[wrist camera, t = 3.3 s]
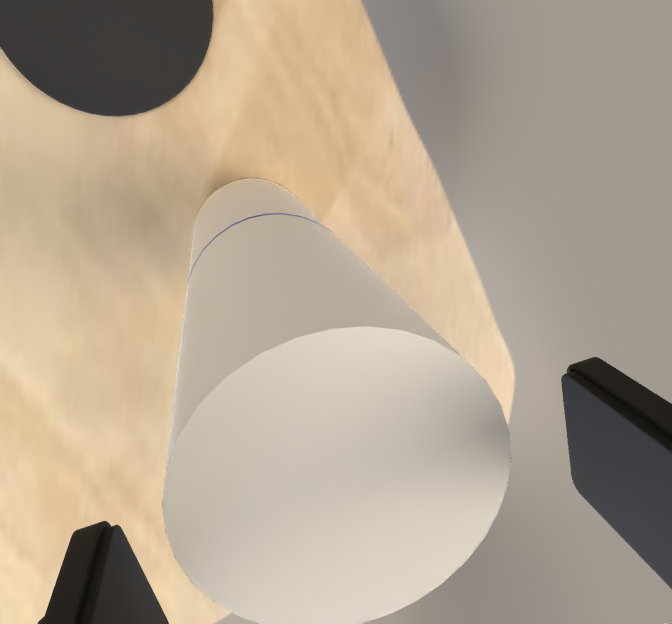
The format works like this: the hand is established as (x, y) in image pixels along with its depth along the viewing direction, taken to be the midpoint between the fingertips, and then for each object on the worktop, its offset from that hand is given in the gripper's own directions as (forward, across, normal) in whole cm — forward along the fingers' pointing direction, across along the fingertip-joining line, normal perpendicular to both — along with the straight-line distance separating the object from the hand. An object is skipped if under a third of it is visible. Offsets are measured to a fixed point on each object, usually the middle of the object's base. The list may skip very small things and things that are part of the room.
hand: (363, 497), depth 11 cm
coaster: (+25, +4, -14) cm, 29 cm away
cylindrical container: (+25, 0, 0) cm, 25 cm away
